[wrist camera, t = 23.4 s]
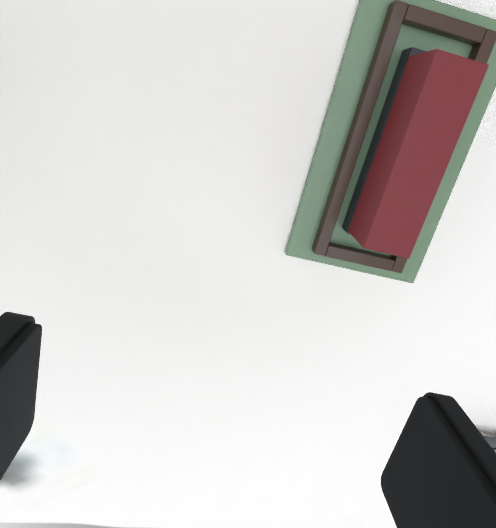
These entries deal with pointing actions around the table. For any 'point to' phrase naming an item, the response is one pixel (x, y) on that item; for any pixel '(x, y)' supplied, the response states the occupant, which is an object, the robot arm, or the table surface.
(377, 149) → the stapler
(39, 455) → the table surface
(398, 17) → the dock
